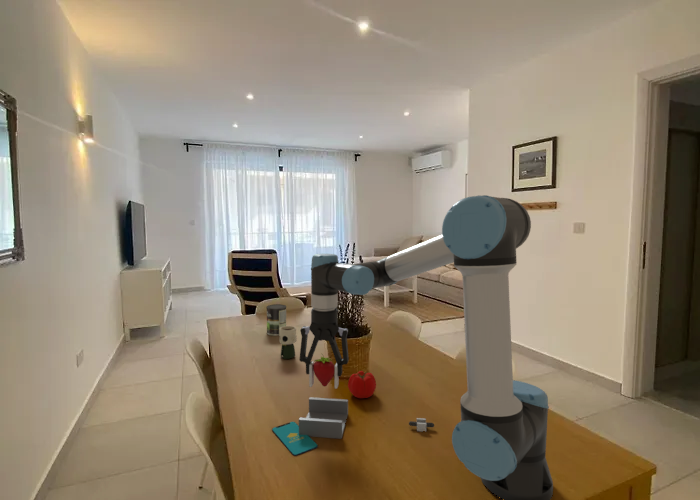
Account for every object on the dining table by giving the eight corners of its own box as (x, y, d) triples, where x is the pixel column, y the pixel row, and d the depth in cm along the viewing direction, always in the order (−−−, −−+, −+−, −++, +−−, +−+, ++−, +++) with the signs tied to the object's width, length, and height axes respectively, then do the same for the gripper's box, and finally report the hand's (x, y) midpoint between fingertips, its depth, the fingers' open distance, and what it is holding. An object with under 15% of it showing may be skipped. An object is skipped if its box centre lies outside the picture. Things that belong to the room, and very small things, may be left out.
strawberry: (321, 393, 107) (321, 359, 106) (308, 384, 113) (308, 351, 112) (339, 388, 110) (339, 354, 110) (326, 379, 117) (326, 347, 116)
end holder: (341, 438, 105) (341, 422, 105) (298, 435, 107) (298, 419, 106) (347, 414, 119) (348, 399, 118) (309, 411, 120) (309, 397, 120)
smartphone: (294, 455, 97) (270, 428, 110) (294, 458, 97) (270, 430, 110) (319, 445, 101) (294, 420, 114) (319, 448, 101) (294, 423, 114)
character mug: (273, 356, 167) (273, 327, 166) (286, 352, 173) (286, 324, 171) (289, 363, 160) (289, 332, 159) (302, 358, 165) (302, 328, 164)
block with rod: (434, 432, 109) (434, 424, 108) (408, 430, 110) (408, 423, 109) (433, 426, 112) (433, 419, 112) (408, 424, 113) (408, 417, 113)
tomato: (377, 391, 134) (377, 370, 134) (372, 403, 126) (372, 380, 125) (351, 388, 137) (352, 367, 136) (344, 399, 128) (344, 377, 128)
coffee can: (269, 336, 195) (268, 309, 194) (264, 331, 204) (264, 305, 203) (289, 334, 199) (288, 307, 198) (283, 329, 209) (283, 303, 208)
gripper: (359, 306, 112) (358, 382, 114) (294, 303, 115) (294, 378, 117) (357, 312, 105) (356, 393, 107) (287, 309, 107) (287, 389, 109)
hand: (324, 385), depth 112 cm, fingers closed on strawberry, 7 cm apart
